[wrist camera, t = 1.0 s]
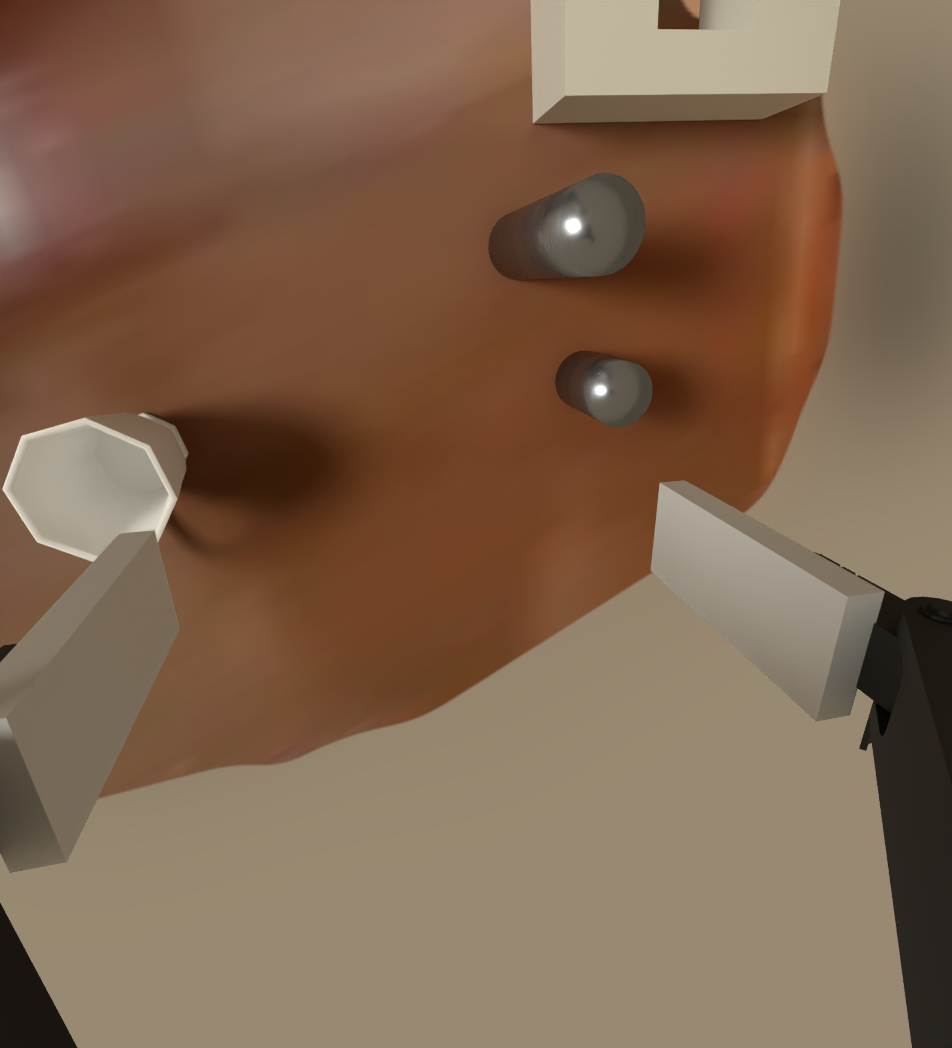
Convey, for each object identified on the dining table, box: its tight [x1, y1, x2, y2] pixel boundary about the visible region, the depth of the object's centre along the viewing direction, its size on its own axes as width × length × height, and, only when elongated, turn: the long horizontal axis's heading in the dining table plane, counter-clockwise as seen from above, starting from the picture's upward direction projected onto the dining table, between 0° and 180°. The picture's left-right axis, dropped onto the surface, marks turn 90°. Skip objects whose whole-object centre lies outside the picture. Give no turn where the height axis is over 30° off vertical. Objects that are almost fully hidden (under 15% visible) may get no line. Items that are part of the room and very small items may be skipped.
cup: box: [3, 412, 188, 562], centre depth 30 cm, size 7×10×8 cm
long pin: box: [489, 173, 645, 280], centre depth 28 cm, size 4×4×12 cm
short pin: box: [555, 351, 653, 427], centre depth 35 cm, size 4×4×6 cm
